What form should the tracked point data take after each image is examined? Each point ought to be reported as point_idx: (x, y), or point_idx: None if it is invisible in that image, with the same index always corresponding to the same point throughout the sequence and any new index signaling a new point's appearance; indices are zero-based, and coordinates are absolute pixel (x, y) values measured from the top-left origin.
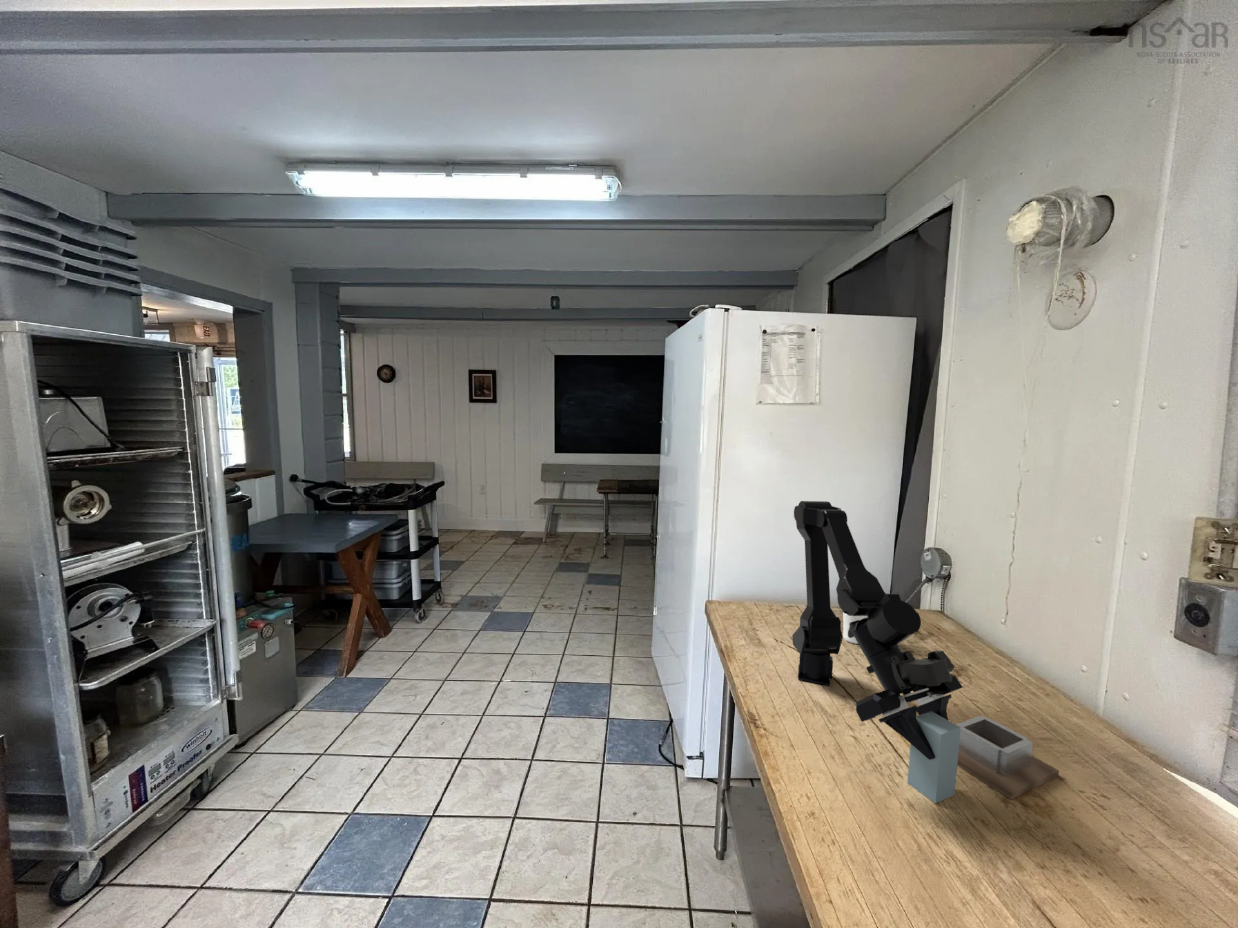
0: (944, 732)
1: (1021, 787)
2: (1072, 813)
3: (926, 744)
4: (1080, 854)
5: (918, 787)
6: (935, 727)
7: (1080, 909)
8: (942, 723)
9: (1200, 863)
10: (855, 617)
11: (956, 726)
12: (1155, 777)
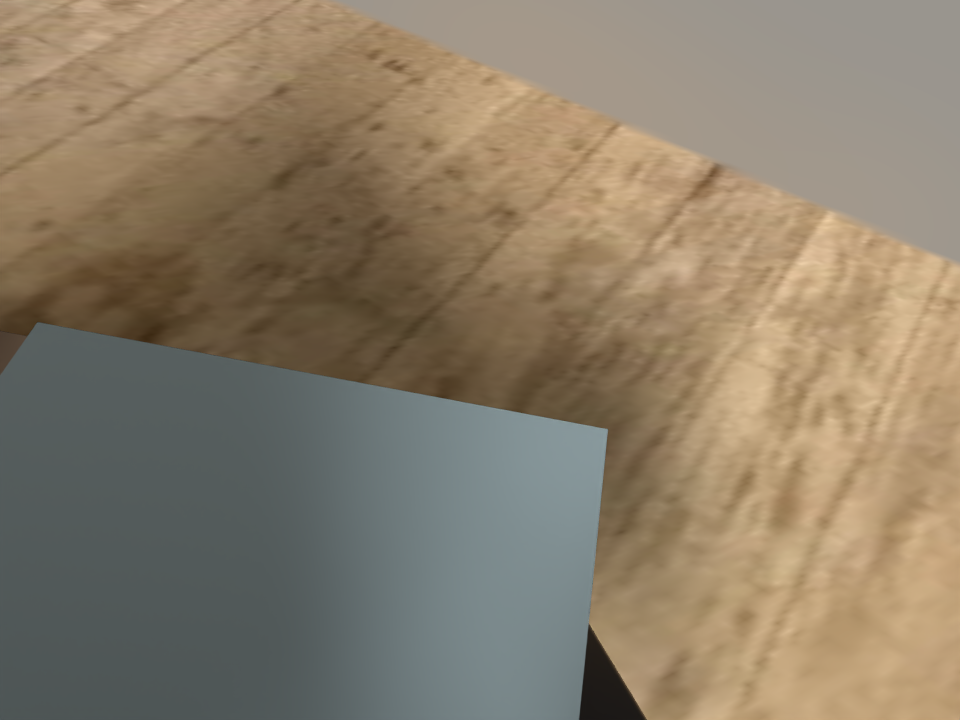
0: (473, 423)
1: None
2: (78, 218)
3: (612, 695)
4: (327, 166)
5: None
6: (434, 625)
7: (591, 129)
8: (115, 594)
9: (101, 19)
10: None
11: (51, 373)
12: None
